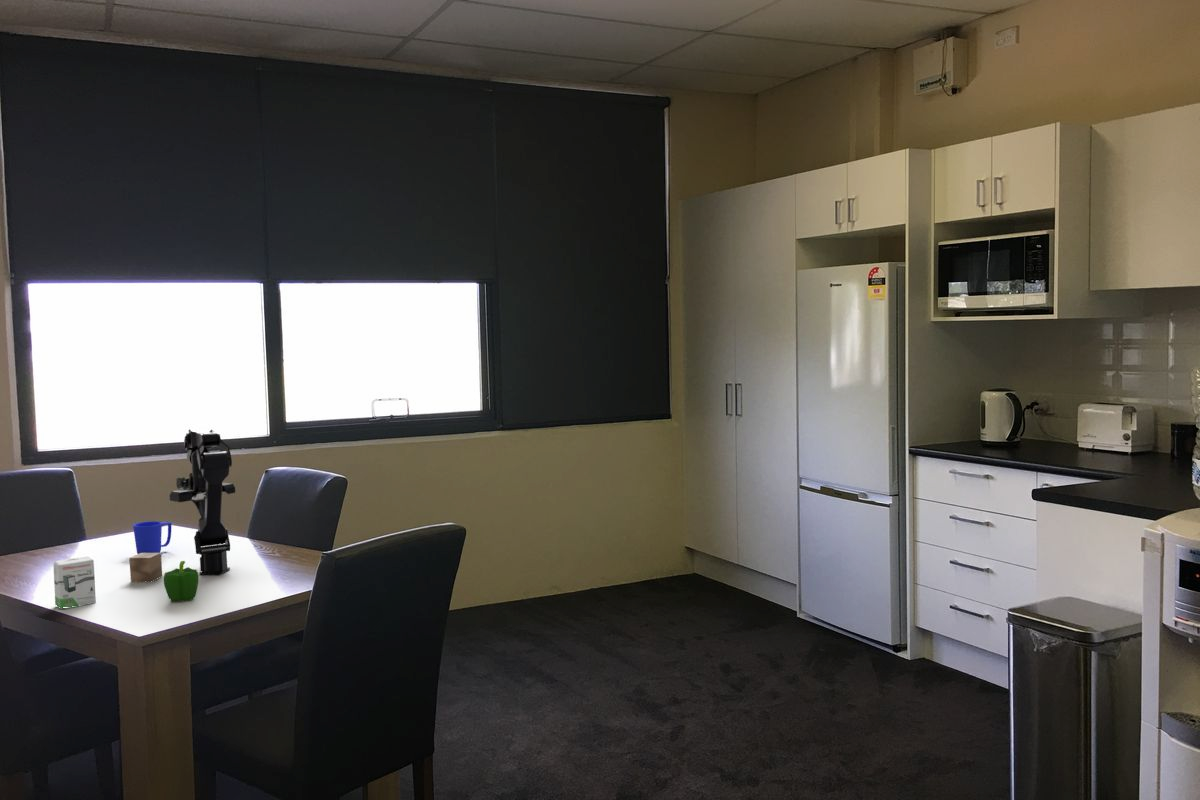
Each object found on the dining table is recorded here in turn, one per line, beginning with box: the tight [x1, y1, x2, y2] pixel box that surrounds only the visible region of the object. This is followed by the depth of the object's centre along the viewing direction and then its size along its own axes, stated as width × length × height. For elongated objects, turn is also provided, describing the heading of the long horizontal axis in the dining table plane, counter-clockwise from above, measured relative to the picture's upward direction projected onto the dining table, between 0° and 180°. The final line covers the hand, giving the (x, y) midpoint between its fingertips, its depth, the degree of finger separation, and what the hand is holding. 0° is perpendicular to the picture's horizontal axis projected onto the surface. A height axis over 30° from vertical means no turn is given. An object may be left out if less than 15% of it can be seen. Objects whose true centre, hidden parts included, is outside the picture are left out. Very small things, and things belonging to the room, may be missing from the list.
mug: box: [132, 520, 172, 555], centre depth 307 cm, size 8×12×10 cm
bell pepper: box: [163, 560, 199, 603], centre depth 254 cm, size 8×8×10 cm
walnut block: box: [129, 552, 163, 583], centre depth 276 cm, size 6×6×7 cm
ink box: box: [53, 556, 97, 609], centre depth 251 cm, size 9×5×12 cm, turn 133°
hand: (204, 520), depth 294 cm, fingers closed
